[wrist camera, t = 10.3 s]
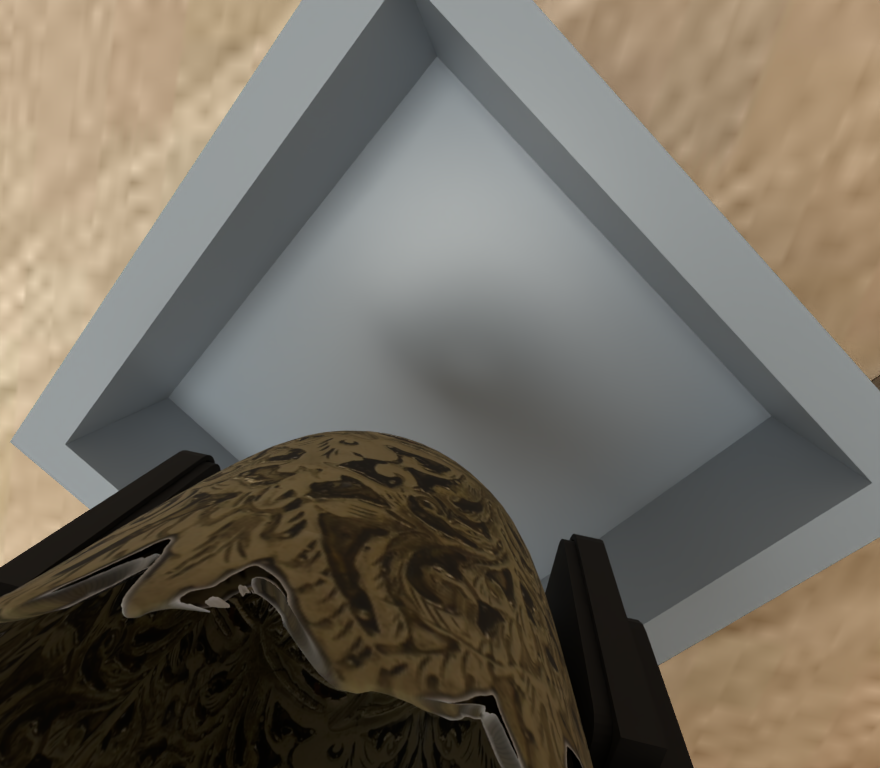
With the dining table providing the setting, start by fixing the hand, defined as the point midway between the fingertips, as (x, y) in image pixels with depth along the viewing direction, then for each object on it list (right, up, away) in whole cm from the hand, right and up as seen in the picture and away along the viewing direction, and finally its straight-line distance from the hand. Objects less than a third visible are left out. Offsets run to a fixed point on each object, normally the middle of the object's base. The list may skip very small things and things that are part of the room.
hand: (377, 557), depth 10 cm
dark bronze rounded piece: (0, +1, +2) cm, 2 cm away
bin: (+2, +3, +10) cm, 11 cm away
